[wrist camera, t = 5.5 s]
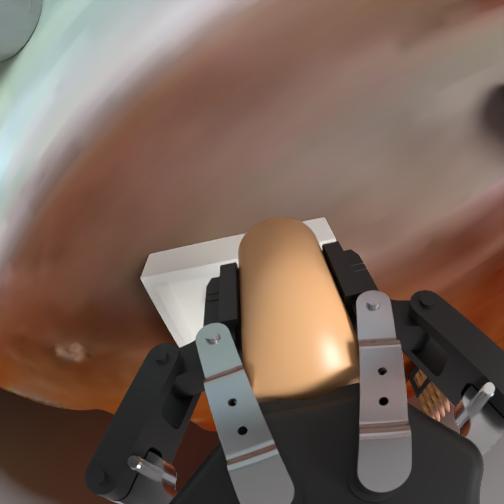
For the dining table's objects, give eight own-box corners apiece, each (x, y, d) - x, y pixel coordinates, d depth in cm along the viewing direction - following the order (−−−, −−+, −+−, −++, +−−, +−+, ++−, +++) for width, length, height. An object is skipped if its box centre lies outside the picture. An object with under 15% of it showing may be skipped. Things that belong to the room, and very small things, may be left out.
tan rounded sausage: (247, 291, 16) (258, 432, 10) (229, 227, 14) (228, 381, 7) (321, 275, 16) (366, 410, 9) (313, 209, 14) (379, 349, 7)
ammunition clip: (415, 375, 48) (436, 427, 38) (407, 377, 48) (427, 429, 38) (438, 339, 42) (467, 395, 32) (430, 340, 42) (458, 398, 32)
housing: (211, 373, 42) (209, 427, 35) (149, 254, 30) (126, 316, 23) (333, 352, 41) (347, 405, 34) (324, 217, 29) (353, 273, 21)
